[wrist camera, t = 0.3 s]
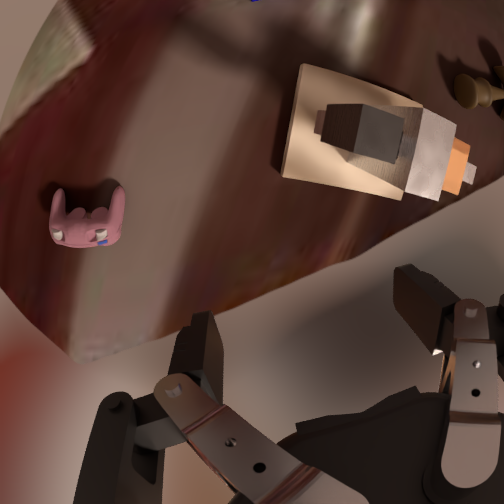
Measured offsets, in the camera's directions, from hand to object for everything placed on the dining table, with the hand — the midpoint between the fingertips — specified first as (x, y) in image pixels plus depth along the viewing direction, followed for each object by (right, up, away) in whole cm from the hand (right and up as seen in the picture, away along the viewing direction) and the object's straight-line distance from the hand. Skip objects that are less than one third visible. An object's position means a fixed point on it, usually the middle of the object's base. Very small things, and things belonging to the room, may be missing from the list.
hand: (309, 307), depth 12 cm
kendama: (+35, +28, +17) cm, 48 cm away
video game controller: (-22, +8, +20) cm, 31 cm away
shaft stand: (+10, +16, +19) cm, 27 cm away
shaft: (+12, +12, +11) cm, 20 cm away
